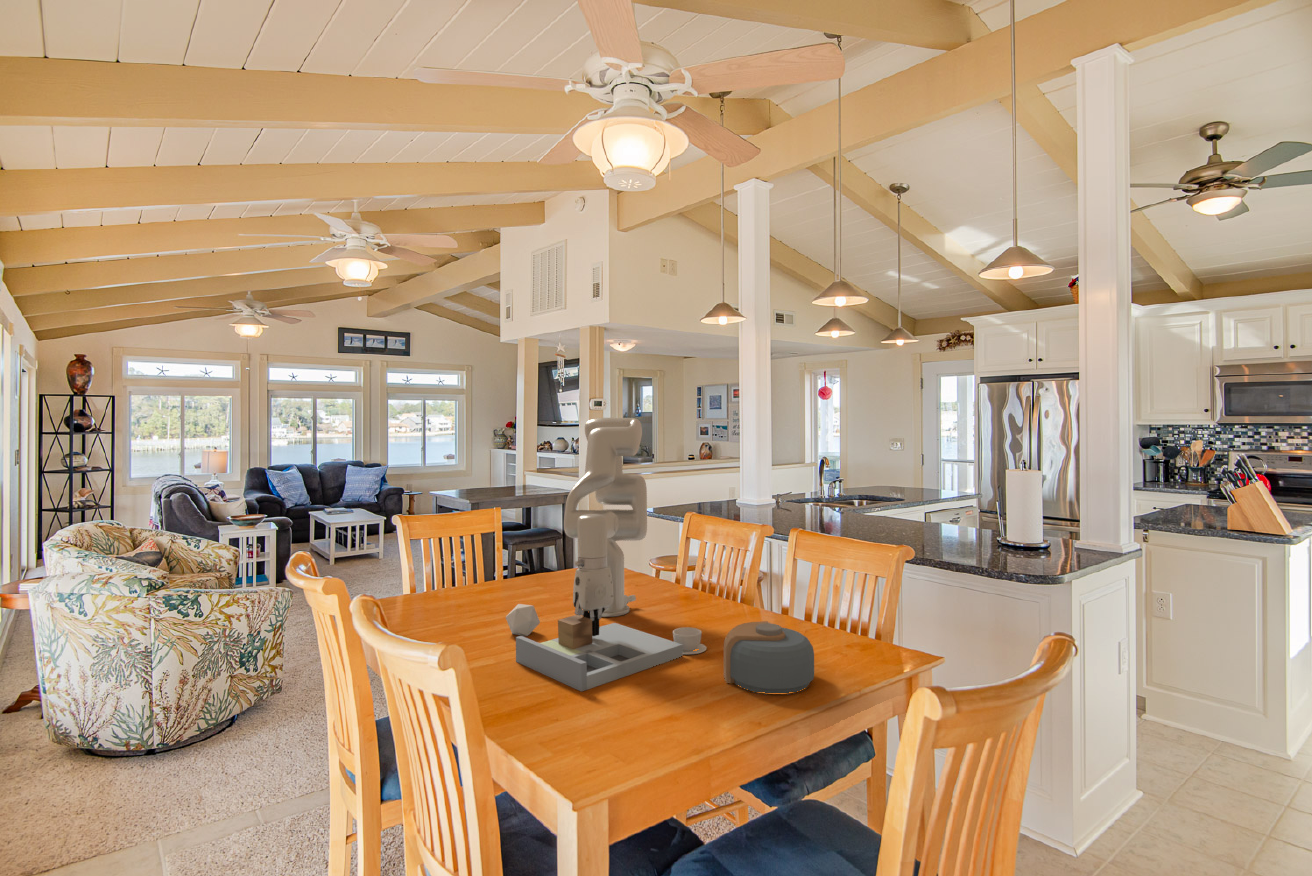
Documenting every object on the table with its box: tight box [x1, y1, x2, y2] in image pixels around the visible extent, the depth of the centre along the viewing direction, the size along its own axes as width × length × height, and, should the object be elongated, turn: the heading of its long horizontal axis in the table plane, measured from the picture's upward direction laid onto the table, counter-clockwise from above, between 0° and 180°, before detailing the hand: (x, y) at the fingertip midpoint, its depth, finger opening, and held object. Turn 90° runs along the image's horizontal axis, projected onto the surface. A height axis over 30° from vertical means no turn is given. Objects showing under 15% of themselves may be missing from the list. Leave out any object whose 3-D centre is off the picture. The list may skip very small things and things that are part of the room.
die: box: [505, 603, 541, 637], centre depth 184 cm, size 8×9×10 cm
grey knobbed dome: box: [723, 620, 815, 693], centre depth 150 cm, size 19×20×12 cm
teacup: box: [672, 626, 707, 655], centre depth 171 cm, size 10×10×5 cm
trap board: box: [515, 622, 684, 692], centre depth 163 cm, size 32×26×6 cm
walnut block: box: [557, 614, 593, 649], centre depth 166 cm, size 6×6×6 cm
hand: (592, 634), depth 170 cm, fingers closed
